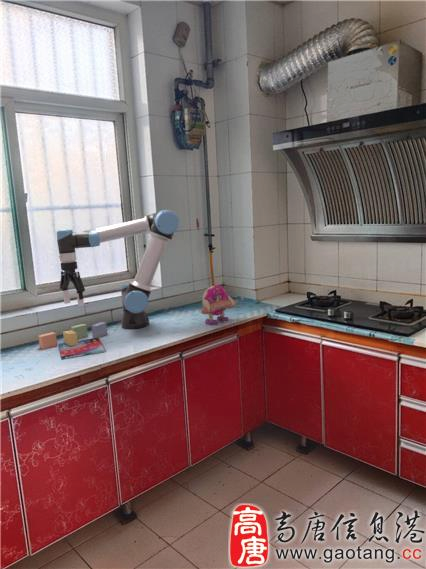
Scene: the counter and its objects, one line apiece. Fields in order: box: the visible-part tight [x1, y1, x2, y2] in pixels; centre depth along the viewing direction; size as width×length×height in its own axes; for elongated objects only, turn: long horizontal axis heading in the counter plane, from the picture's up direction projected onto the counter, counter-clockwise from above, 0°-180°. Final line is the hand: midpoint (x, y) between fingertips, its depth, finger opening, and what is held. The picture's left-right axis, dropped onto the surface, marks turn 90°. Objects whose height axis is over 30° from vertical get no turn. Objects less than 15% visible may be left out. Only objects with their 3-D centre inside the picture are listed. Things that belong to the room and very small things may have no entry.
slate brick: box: [90, 321, 108, 338], centre depth 221 cm, size 7×4×6 cm, turn 154°
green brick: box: [70, 323, 89, 340], centre depth 220 cm, size 7×4×6 cm, turn 134°
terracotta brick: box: [37, 331, 58, 350], centre depth 208 cm, size 7×4×6 cm, turn 134°
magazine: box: [57, 337, 107, 361], centre depth 202 cm, size 19×25×1 cm
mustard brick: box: [62, 329, 79, 346], centre depth 209 cm, size 7×4×6 cm, turn 44°
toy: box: [200, 284, 238, 326], centre depth 232 cm, size 25×9×20 cm, turn 129°
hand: (74, 304), depth 214 cm, fingers open, 13 cm apart
